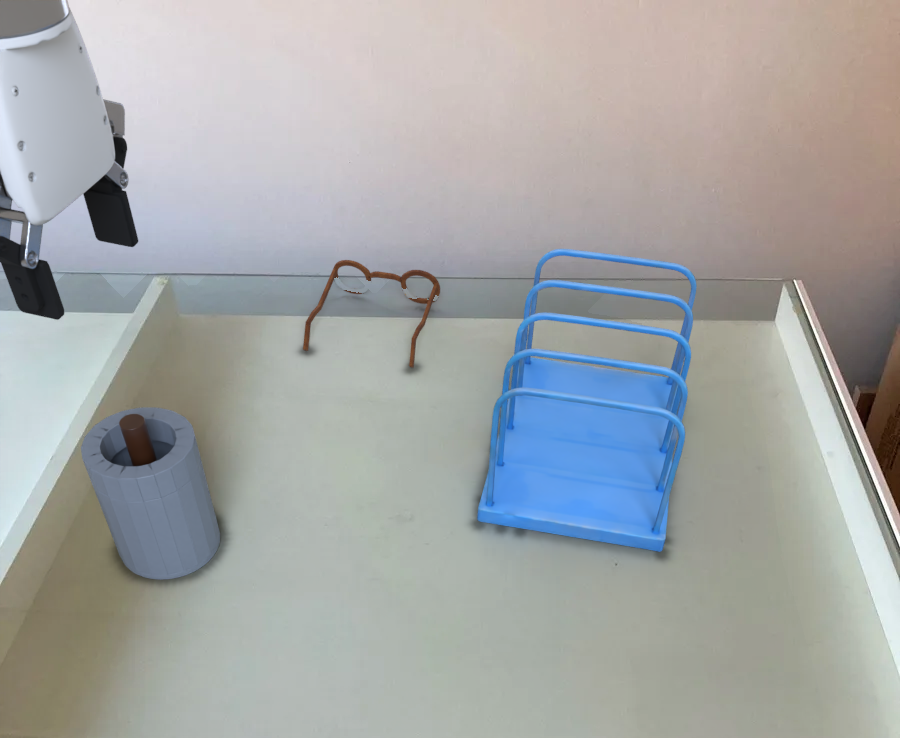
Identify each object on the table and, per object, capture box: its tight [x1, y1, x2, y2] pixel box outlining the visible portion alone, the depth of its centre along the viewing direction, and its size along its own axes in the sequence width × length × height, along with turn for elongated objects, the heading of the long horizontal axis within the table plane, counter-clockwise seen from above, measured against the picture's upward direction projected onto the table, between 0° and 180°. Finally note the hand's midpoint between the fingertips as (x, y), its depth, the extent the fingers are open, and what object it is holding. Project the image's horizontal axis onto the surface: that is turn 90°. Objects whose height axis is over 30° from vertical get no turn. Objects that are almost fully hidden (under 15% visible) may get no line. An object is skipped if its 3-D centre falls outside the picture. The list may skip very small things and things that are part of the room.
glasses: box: [302, 259, 441, 369], centre depth 104 cm, size 13×13×5 cm
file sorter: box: [476, 248, 697, 553], centre depth 86 cm, size 25×17×15 cm
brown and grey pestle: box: [119, 414, 157, 466], centre depth 78 cm, size 4×4×14 cm
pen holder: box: [80, 406, 221, 580], centre depth 79 cm, size 9×9×12 cm
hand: (82, 276), depth 64 cm, fingers open, 9 cm apart
